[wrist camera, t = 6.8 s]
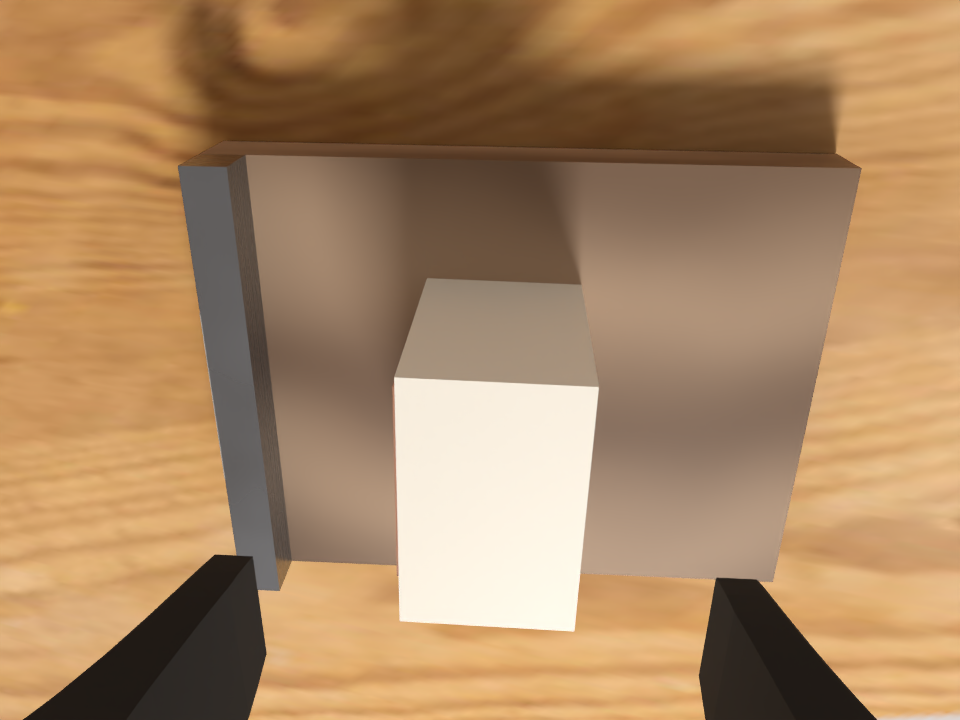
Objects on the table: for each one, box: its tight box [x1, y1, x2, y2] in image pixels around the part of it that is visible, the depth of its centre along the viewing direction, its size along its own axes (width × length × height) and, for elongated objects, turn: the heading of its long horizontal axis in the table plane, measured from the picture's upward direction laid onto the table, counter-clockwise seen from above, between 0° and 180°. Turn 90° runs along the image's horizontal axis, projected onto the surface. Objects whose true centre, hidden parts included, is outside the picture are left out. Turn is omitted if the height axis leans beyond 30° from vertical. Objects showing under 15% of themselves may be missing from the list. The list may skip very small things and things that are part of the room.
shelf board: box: [200, 141, 862, 582], centre depth 20 cm, size 11×14×2 cm
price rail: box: [178, 154, 292, 591], centre depth 19 cm, size 11×1×1 cm, turn 179°
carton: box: [392, 278, 599, 631], centre depth 17 cm, size 6×4×5 cm, turn 178°
